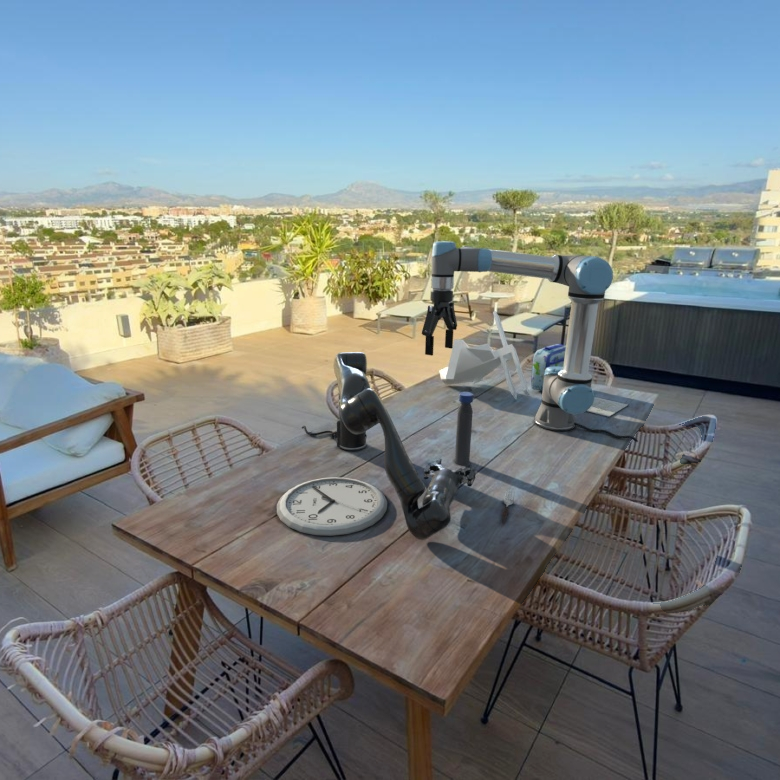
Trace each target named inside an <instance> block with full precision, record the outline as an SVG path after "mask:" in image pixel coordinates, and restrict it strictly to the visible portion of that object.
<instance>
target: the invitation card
mask: <svg viewBox="0 0 780 780" xmlns="http://www.w3.org/2000/svg"><path fill="white" fill-rule="evenodd" d="M628 406H629V404H627V403H623V402H618V401H614V400H609V399H605V398H601V397H596V396H594V402H593V404H592V406H591V407H590V408H589V409H588V410H587V411H586V412H587V413H593V414H596V415H600V416H604V417H608V418H609V417H611V416H613V415H614V414H616V413H617V412H619V411H621V410H623V409H624V408H626V407H628Z"/></svg>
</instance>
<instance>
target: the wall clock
mask: <svg viewBox="0 0 780 780" xmlns="http://www.w3.org/2000/svg"><path fill="white" fill-rule="evenodd" d="M387 509H388V500H387V498H386V496H385V494H384V493H383V492H382V491H381V490H380V489H379V488H377V487H376V486H374V485H372V484H371V483H369V482H365V481H362V480H359V479H355V478H349V477H338V476H337V477H335V476H333V477H332V476H331V477H322V478H317V479H312V480H307V481H305V482H302V483H299V484H297V485H295V486H293V487H292V488H290V489H288V490H287V491H286V492H285V493H284V494H283V495H281V496H280V498H279V499H278V502H277V503H276V515H277V517H278V518H279V520H280V521H281V522H282V523H283V524H285V525H286V526H287V527H288V528H290V529H293V530H295V531H297V532H299V533H303V534H308V535H312V536H327V537H328V536H329V537H331V536H332V537H333V536H342V535H350V534H352V533H356V532H361V531H363V530H366V529H368V528H369V527H372V526H373V525H375V524H376V523H378V522H379V521H380V520H381V519H382V518H383V517H384V516H385V514H386V512H387Z"/></svg>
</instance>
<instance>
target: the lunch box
mask: <svg viewBox="0 0 780 780" xmlns="http://www.w3.org/2000/svg"><path fill="white" fill-rule="evenodd" d="M565 350H566V344H560V343H555V344H552V345H547V346H545V347H542V348H539V349H537V350H536V351H535V353H534V355H533V358H532V363H531V364H532V365H531V376H530V377H531V378H530V387H531V389H532V390H536V391H539V392H540V391H541V392H542V391H543V382H544V374H545V369H546V368H548V367H563V365H564V357H565Z"/></svg>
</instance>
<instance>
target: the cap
mask: <svg viewBox="0 0 780 780" xmlns="http://www.w3.org/2000/svg"><path fill="white" fill-rule="evenodd" d="M458 396H459V397H458V401H459V402H460V403H461V402H462V403H471V404H472V403H473V401H474V393H472V392H470V391H461V392H459V394H458Z"/></svg>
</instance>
